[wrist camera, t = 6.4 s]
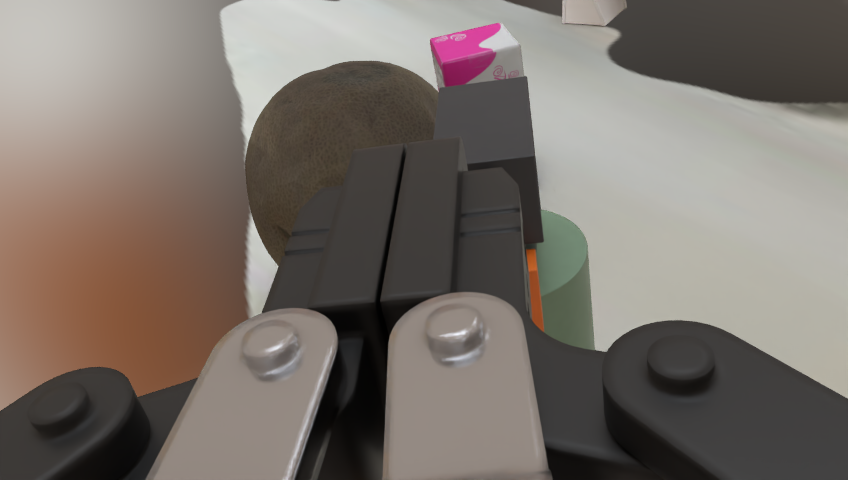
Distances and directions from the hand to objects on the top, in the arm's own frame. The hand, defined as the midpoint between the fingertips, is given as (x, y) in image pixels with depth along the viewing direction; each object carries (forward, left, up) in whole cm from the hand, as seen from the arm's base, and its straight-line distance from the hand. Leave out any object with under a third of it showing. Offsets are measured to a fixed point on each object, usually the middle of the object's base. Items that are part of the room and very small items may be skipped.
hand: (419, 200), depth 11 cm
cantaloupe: (+35, -2, -26) cm, 44 cm away
